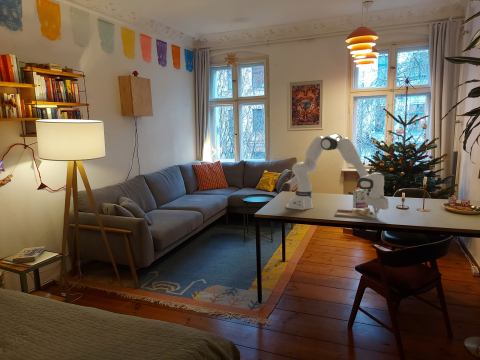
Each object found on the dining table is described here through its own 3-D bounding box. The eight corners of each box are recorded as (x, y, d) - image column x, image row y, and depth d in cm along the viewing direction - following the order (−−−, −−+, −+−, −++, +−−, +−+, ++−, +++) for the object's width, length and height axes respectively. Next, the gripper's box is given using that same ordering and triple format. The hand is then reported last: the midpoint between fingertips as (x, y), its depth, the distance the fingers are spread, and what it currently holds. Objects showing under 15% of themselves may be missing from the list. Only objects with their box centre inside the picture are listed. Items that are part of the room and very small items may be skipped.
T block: (369, 214, 255) (370, 207, 254) (369, 218, 244) (369, 211, 243) (353, 212, 259) (353, 206, 259) (351, 217, 249) (352, 210, 248)
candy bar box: (364, 208, 274) (364, 188, 272) (368, 209, 270) (368, 189, 267) (352, 209, 271) (352, 189, 269) (355, 210, 267) (356, 190, 264)
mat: (333, 217, 250) (333, 214, 250) (336, 210, 268) (336, 208, 268) (376, 221, 238) (376, 218, 238) (377, 213, 256) (377, 211, 256)
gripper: (391, 196, 236) (390, 215, 238) (370, 191, 255) (370, 209, 257) (384, 197, 234) (383, 216, 236) (364, 192, 253) (363, 210, 255)
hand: (376, 212), depth 247 cm, fingers closed
